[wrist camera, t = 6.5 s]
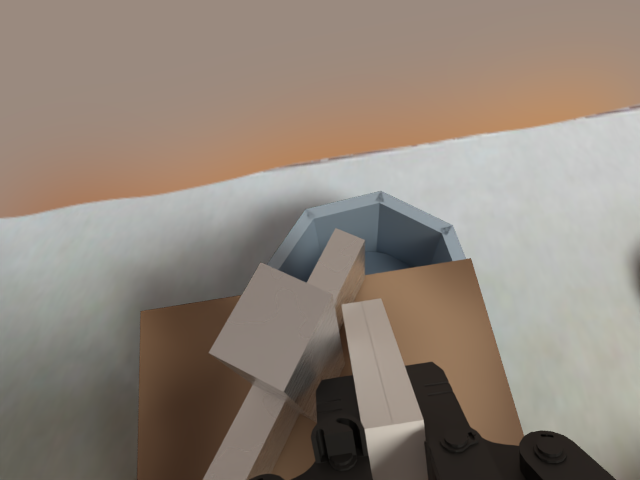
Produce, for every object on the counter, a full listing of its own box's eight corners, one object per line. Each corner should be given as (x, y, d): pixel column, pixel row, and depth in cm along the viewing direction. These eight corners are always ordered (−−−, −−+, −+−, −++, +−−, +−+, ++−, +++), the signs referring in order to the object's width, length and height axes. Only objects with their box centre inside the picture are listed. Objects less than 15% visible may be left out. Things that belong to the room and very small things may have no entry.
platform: (215, 603, 25) (132, 682, 16) (205, 356, 31) (140, 311, 22) (499, 560, 25) (577, 615, 16) (438, 319, 31) (470, 258, 22)
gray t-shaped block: (238, 592, 17) (122, 714, 9) (173, 549, 17) (7, 624, 9) (381, 285, 21) (393, 172, 13) (324, 260, 22) (300, 138, 14)
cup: (255, 350, 31) (227, 320, 24) (339, 223, 34) (334, 168, 28) (401, 444, 28) (412, 438, 21) (478, 294, 31) (507, 251, 25)
